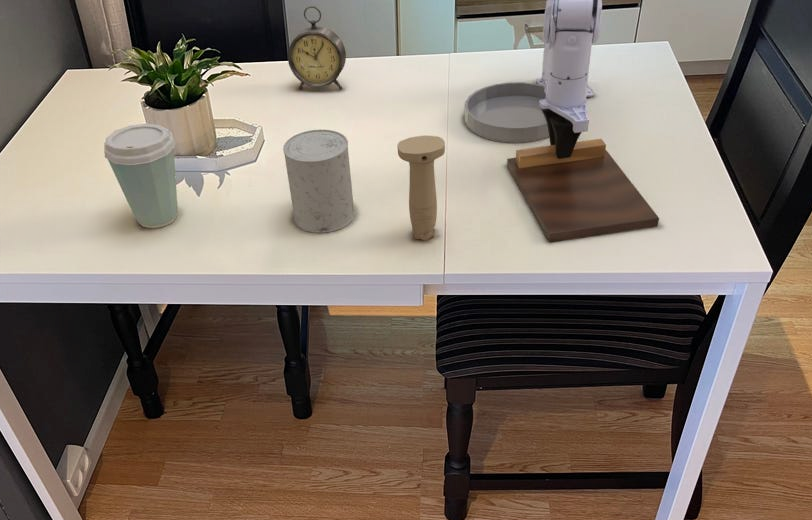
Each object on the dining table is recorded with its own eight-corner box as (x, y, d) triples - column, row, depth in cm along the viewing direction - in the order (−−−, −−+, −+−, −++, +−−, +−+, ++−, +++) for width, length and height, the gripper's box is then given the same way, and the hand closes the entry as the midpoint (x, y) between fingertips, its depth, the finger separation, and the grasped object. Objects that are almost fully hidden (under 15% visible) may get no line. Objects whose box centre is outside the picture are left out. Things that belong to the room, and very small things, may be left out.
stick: (515, 162, 128) (516, 149, 126) (599, 150, 128) (601, 138, 127) (519, 168, 126) (519, 156, 124) (604, 157, 126) (606, 144, 125)
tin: (454, 103, 149) (454, 89, 147) (548, 90, 149) (549, 76, 148) (478, 148, 135) (478, 133, 133) (581, 134, 136) (582, 119, 134)
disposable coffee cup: (135, 201, 131) (110, 118, 121) (199, 198, 130) (178, 114, 120) (119, 238, 123) (90, 152, 113) (186, 235, 122) (164, 148, 112)
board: (506, 166, 130) (507, 158, 129) (601, 153, 130) (602, 145, 129) (549, 242, 113) (549, 233, 112) (657, 226, 113) (659, 218, 112)
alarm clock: (291, 92, 158) (280, 11, 148) (299, 80, 162) (288, 0, 152) (344, 93, 156) (336, 11, 145) (350, 81, 160) (343, 0, 149)
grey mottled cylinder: (333, 239, 118) (324, 167, 110) (281, 223, 122) (269, 153, 114) (366, 207, 124) (360, 136, 116) (316, 193, 128) (307, 124, 120)
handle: (448, 241, 115) (447, 150, 105) (404, 247, 115) (400, 156, 105) (442, 223, 118) (441, 133, 109) (400, 229, 118) (395, 139, 109)
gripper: (528, 56, 123) (523, 135, 132) (558, 95, 112) (550, 178, 120) (572, 50, 123) (564, 129, 132) (606, 89, 112) (595, 172, 121)
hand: (560, 152), depth 126 cm, fingers closed on stick, 2 cm apart
